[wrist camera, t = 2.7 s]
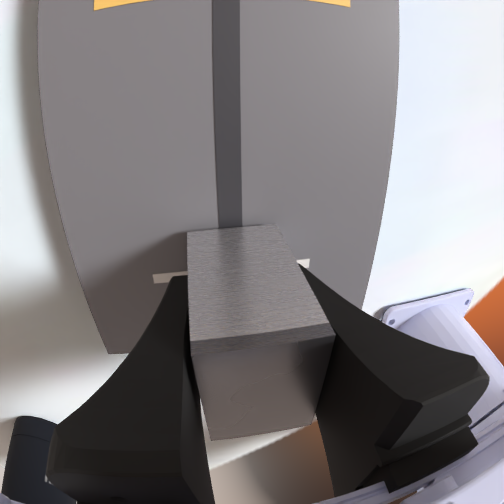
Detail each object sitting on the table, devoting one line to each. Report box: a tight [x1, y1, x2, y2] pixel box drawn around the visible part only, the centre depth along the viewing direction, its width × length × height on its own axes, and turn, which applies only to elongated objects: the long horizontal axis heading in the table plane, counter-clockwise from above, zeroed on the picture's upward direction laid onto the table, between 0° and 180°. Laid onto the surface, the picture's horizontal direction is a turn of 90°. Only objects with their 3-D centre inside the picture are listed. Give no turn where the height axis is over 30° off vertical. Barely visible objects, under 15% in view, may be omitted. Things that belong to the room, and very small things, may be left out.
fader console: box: [38, 0, 399, 354], centre depth 10 cm, size 20×12×2 cm, turn 0°
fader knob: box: [187, 224, 336, 441], centre depth 10 cm, size 4×3×5 cm
